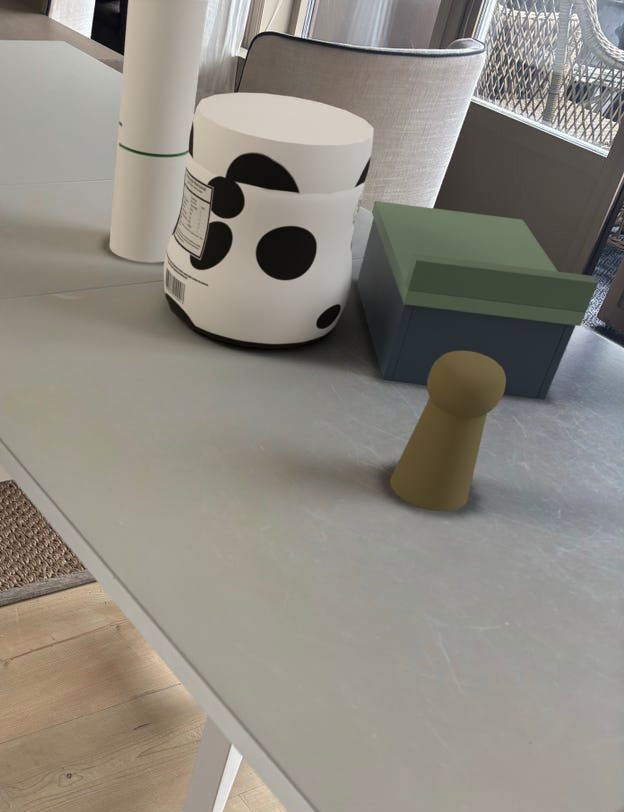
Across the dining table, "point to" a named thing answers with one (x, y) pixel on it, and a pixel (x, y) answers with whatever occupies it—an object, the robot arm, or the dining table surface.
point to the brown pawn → (449, 431)
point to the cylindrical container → (155, 123)
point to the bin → (453, 333)
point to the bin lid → (477, 265)
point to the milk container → (267, 219)
